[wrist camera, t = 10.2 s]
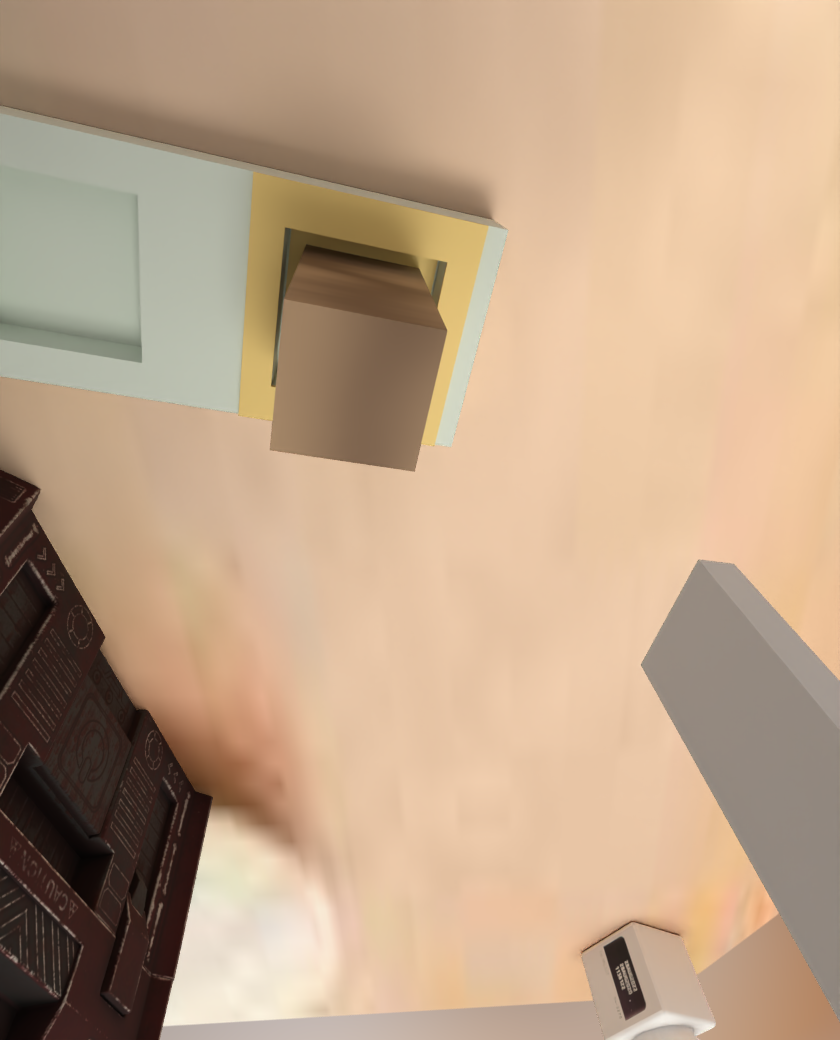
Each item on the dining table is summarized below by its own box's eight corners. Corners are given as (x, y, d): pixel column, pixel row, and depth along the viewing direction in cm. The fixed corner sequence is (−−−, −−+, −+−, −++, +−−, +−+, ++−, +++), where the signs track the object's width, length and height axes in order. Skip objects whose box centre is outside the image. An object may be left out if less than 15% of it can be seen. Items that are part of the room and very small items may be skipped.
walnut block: (294, 356, 26) (269, 450, 18) (306, 244, 24) (283, 299, 16) (397, 374, 27) (414, 471, 19) (419, 268, 25) (447, 330, 17)
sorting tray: (-351, 289, 24) (-441, 309, 21) (-478, -6, 19) (-614, -28, 16) (443, 419, 30) (451, 449, 27) (492, 219, 25) (509, 230, 22)
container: (578, 952, 64) (624, 1122, 53) (632, 919, 61) (692, 1092, 50) (628, 965, 67) (682, 1129, 56) (682, 934, 64) (749, 1101, 53)
